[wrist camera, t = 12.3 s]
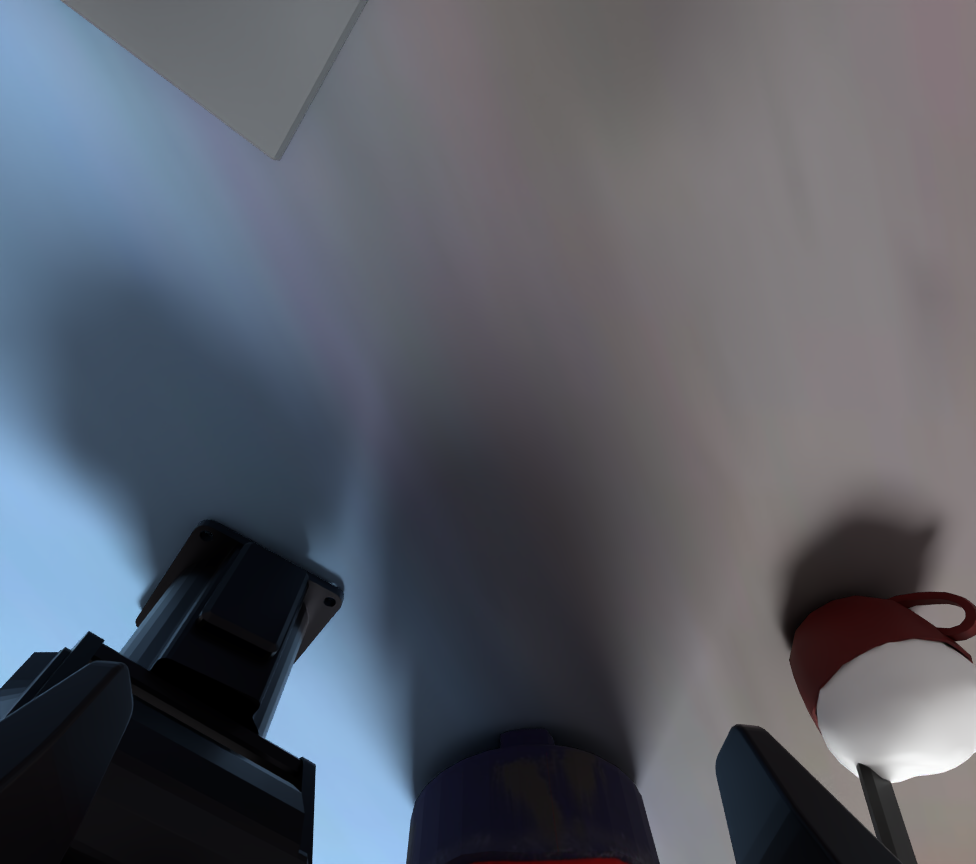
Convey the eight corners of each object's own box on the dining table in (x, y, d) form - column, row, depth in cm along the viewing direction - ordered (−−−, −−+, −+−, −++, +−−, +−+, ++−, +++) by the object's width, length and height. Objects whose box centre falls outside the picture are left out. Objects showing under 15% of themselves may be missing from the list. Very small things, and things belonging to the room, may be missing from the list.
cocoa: (907, 537, 24) (1308, 826, 12) (945, 636, 26) (1319, 961, 14) (703, 636, 25) (895, 974, 14) (754, 722, 27) (958, 1078, 16)
